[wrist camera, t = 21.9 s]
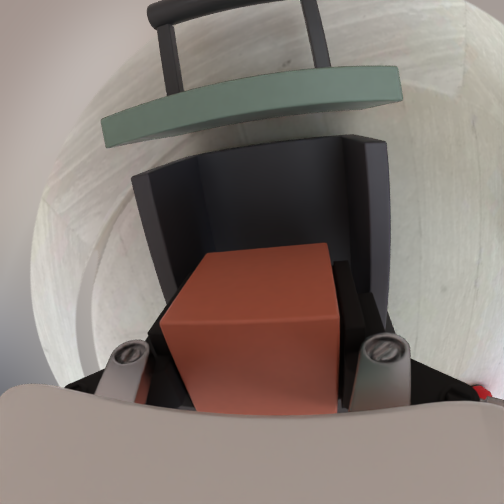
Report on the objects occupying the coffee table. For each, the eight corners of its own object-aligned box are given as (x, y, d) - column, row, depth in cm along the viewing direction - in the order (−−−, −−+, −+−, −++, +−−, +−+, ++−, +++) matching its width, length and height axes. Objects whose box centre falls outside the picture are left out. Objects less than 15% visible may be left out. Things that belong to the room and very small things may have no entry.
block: (229, 344, 13) (201, 424, 9) (205, 252, 11) (157, 322, 7) (331, 340, 12) (336, 426, 8) (327, 241, 10) (339, 315, 6)
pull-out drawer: (158, 37, 13) (87, 6, 7) (340, 3, 11) (361, -58, 5) (213, 308, 20) (180, 381, 14) (371, 297, 18) (394, 374, 12)
